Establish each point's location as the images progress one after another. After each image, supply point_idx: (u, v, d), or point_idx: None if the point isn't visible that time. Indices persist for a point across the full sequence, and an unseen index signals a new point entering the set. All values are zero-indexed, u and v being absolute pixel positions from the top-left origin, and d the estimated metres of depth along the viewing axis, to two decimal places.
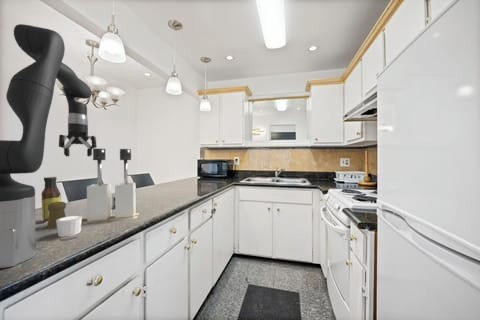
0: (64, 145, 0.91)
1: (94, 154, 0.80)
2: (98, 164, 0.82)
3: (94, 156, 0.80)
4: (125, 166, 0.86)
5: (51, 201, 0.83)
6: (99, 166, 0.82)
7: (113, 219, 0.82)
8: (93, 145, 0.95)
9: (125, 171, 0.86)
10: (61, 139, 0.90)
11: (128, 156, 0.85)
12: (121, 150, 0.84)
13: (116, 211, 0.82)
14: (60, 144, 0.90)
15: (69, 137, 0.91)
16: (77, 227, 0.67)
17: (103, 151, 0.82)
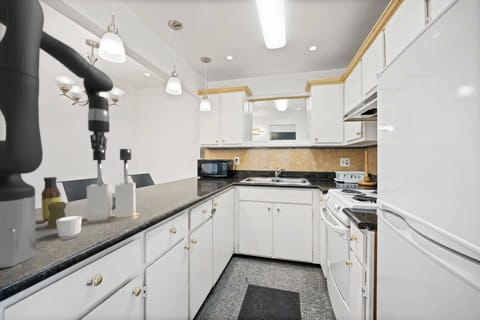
0: (96, 146, 0.79)
1: None
2: (98, 164, 0.82)
3: None
4: (125, 166, 0.86)
5: (51, 201, 0.83)
6: (99, 166, 0.82)
7: (113, 219, 0.82)
8: (105, 147, 0.87)
9: (125, 171, 0.86)
10: (98, 140, 0.78)
11: (128, 156, 0.85)
12: (121, 150, 0.84)
13: (116, 211, 0.82)
14: (99, 146, 0.78)
15: (99, 137, 0.80)
16: (77, 227, 0.67)
17: (103, 151, 0.82)
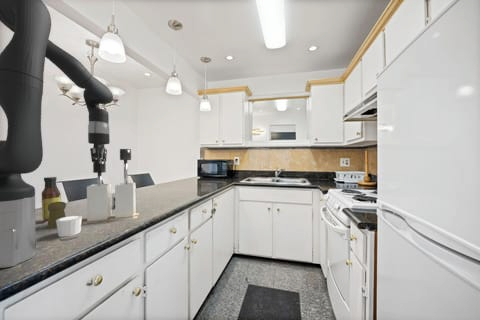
0: (96, 159, 0.79)
1: None
2: (98, 176, 0.82)
3: None
4: (125, 166, 0.86)
5: (51, 201, 0.83)
6: (99, 178, 0.82)
7: (113, 219, 0.82)
8: (105, 159, 0.87)
9: (125, 171, 0.86)
10: (98, 153, 0.78)
11: (128, 156, 0.85)
12: (121, 150, 0.84)
13: (116, 211, 0.82)
14: (99, 159, 0.78)
15: (100, 150, 0.80)
16: (77, 227, 0.67)
17: (103, 163, 0.82)
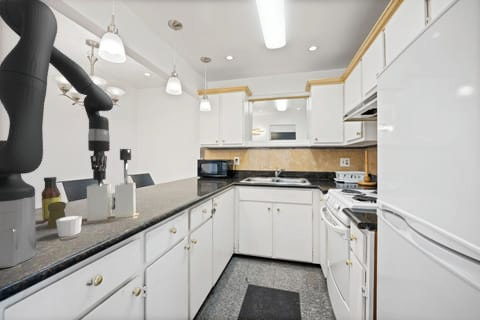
0: None
1: None
2: (98, 184, 0.82)
3: None
4: (125, 166, 0.86)
5: (51, 201, 0.83)
6: None
7: (113, 219, 0.82)
8: (105, 166, 0.87)
9: (125, 171, 0.86)
10: (98, 161, 0.78)
11: (128, 156, 0.85)
12: (121, 150, 0.84)
13: (116, 211, 0.82)
14: (99, 166, 0.79)
15: (100, 157, 0.80)
16: (77, 227, 0.67)
17: (103, 171, 0.82)
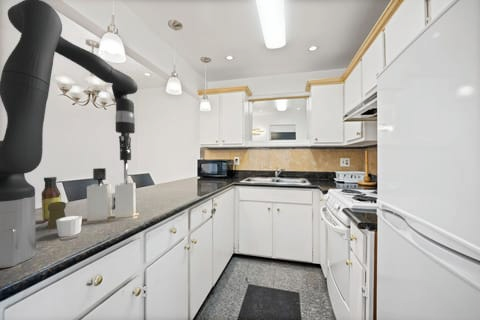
0: (123, 146, 0.83)
1: (94, 174, 0.81)
2: (98, 184, 0.82)
3: (94, 176, 0.81)
4: (125, 166, 0.86)
5: (51, 201, 0.83)
6: None
7: (113, 219, 0.82)
8: None
9: (125, 171, 0.86)
10: (126, 141, 0.82)
11: (128, 156, 0.85)
12: None
13: (116, 211, 0.82)
14: (126, 146, 0.82)
15: (126, 138, 0.84)
16: (77, 227, 0.67)
17: (103, 171, 0.82)
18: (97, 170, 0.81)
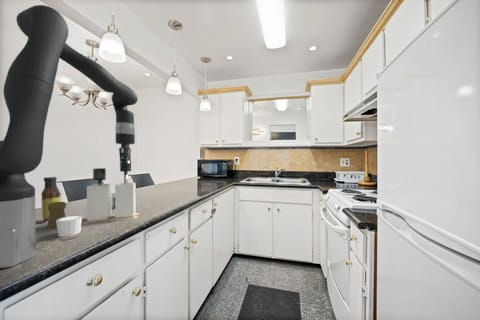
0: (123, 158, 0.83)
1: (94, 174, 0.81)
2: (98, 184, 0.82)
3: (94, 176, 0.81)
4: (125, 178, 0.86)
5: (51, 201, 0.83)
6: None
7: (113, 219, 0.82)
8: (130, 158, 0.91)
9: (125, 182, 0.86)
10: (126, 153, 0.82)
11: (128, 167, 0.85)
12: None
13: (116, 211, 0.82)
14: (126, 158, 0.82)
15: (126, 150, 0.84)
16: (77, 227, 0.67)
17: (103, 171, 0.82)
18: (97, 170, 0.81)
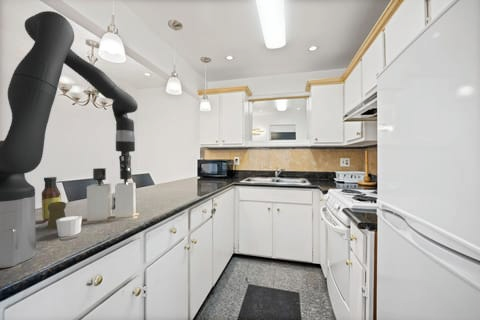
0: (123, 166, 0.83)
1: (94, 174, 0.81)
2: (98, 184, 0.82)
3: (94, 176, 0.81)
4: None
5: (51, 201, 0.83)
6: None
7: (113, 219, 0.82)
8: (130, 165, 0.91)
9: None
10: (126, 160, 0.82)
11: (128, 175, 0.85)
12: None
13: (116, 211, 0.82)
14: (126, 166, 0.82)
15: (127, 157, 0.84)
16: (77, 227, 0.67)
17: (103, 171, 0.82)
18: (97, 170, 0.81)
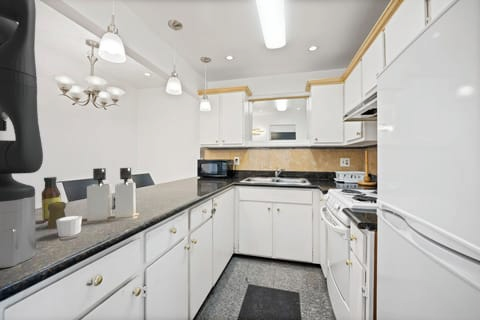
0: None
1: (94, 174, 0.81)
2: (98, 184, 0.82)
3: (94, 176, 0.81)
4: None
5: (51, 201, 0.83)
6: None
7: (113, 219, 0.82)
8: None
9: None
10: None
11: (128, 175, 0.85)
12: (121, 169, 0.84)
13: (116, 211, 0.82)
14: (1, 113, 0.65)
15: None
16: (77, 227, 0.67)
17: (103, 171, 0.82)
18: (97, 170, 0.81)
